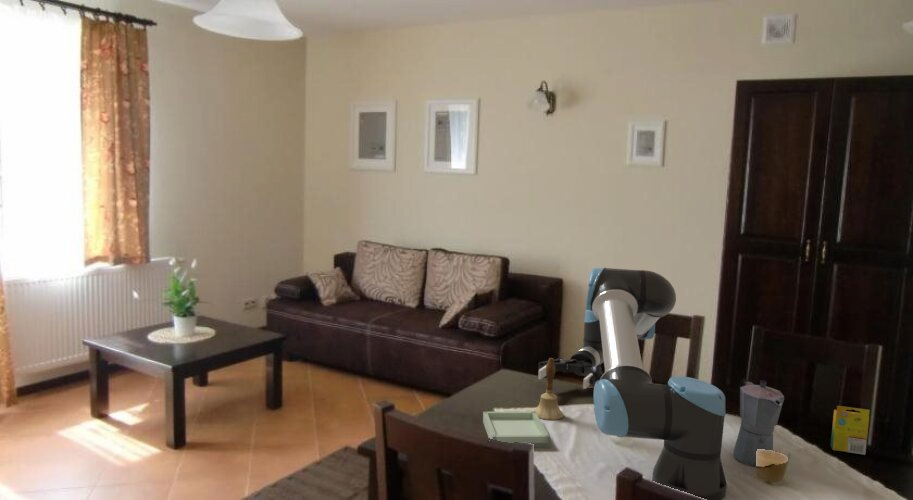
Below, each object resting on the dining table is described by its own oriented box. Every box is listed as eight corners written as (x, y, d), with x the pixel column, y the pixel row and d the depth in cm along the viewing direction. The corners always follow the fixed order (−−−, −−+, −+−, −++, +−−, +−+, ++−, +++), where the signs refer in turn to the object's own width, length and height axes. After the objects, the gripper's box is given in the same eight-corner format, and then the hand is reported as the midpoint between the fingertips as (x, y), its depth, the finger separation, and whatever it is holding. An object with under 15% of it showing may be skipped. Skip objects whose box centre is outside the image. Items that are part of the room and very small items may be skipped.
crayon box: (862, 450, 162) (868, 406, 161) (865, 455, 159) (871, 410, 158) (829, 445, 165) (834, 401, 163) (831, 450, 162) (837, 405, 160)
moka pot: (757, 475, 146) (766, 390, 144) (713, 446, 161) (720, 369, 159) (791, 471, 149) (801, 388, 146) (745, 443, 164) (753, 367, 161)
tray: (548, 447, 157) (549, 436, 157) (492, 447, 155) (492, 436, 155) (534, 421, 173) (534, 411, 172) (482, 421, 171) (483, 411, 171)
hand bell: (527, 411, 180) (530, 355, 178) (552, 407, 184) (555, 353, 182) (543, 422, 173) (546, 364, 171) (569, 418, 176) (572, 361, 174)
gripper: (623, 380, 198) (603, 400, 180) (546, 365, 210) (520, 383, 192) (624, 356, 197) (604, 375, 179) (548, 343, 209) (522, 359, 191)
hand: (561, 379), depth 185 cm, fingers open, 13 cm apart
